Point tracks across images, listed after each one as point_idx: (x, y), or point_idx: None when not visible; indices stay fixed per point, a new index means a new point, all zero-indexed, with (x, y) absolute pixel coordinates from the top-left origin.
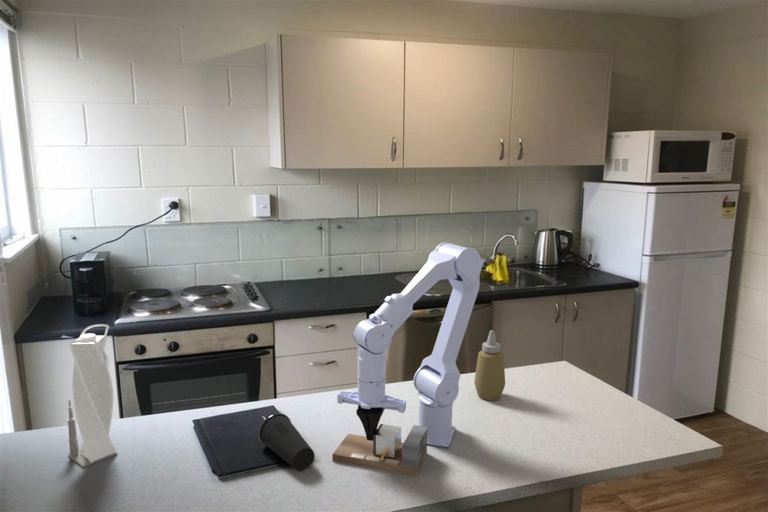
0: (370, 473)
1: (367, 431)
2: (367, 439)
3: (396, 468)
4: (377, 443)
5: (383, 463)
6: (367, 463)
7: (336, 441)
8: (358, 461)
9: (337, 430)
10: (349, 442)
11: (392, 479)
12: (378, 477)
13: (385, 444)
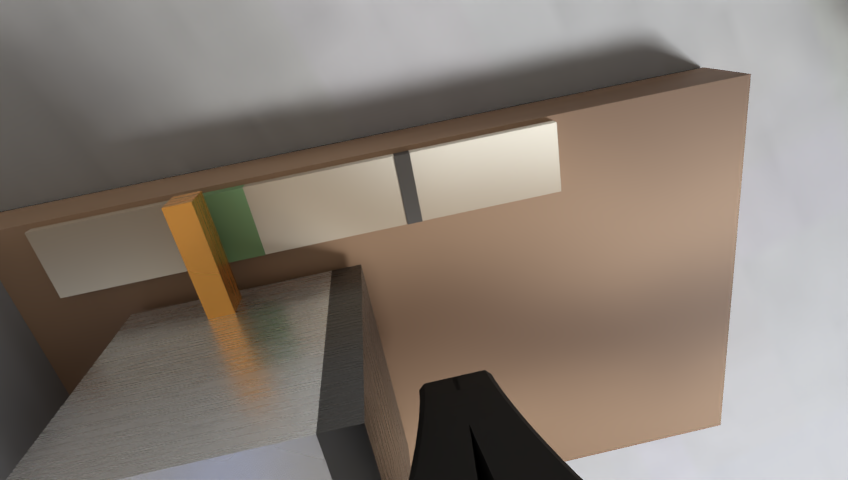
0: (274, 55)
1: (502, 451)
2: (481, 375)
3: (53, 212)
4: (304, 352)
5: (184, 192)
6: (362, 146)
7: (763, 331)
8: (456, 126)
9: (798, 439)
10: (664, 329)
11: (16, 69)
12: (160, 29)
13: (186, 379)
